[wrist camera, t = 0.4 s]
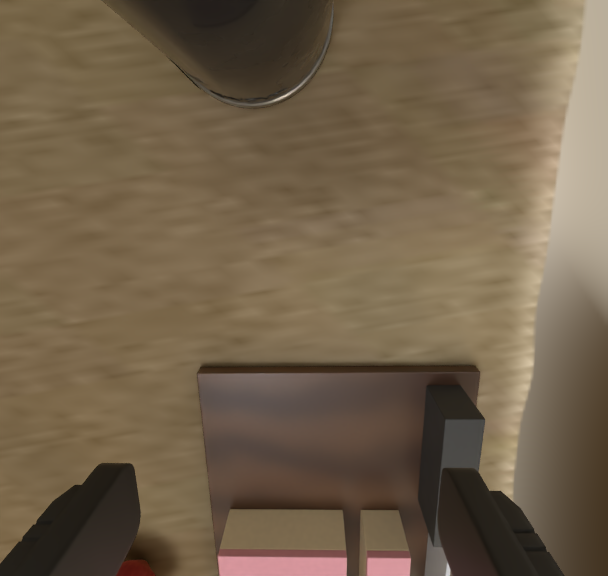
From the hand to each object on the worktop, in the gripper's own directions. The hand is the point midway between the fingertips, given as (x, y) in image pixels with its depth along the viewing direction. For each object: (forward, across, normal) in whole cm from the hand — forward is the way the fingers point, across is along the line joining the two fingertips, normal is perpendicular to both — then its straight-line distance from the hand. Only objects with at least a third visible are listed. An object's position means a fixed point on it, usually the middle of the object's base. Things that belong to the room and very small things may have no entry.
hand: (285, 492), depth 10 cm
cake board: (+17, -2, +17) cm, 25 cm away
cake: (+16, +2, +21) cm, 27 cm away
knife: (+16, -10, +15) cm, 24 cm away
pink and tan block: (+16, -6, +21) cm, 27 cm away
